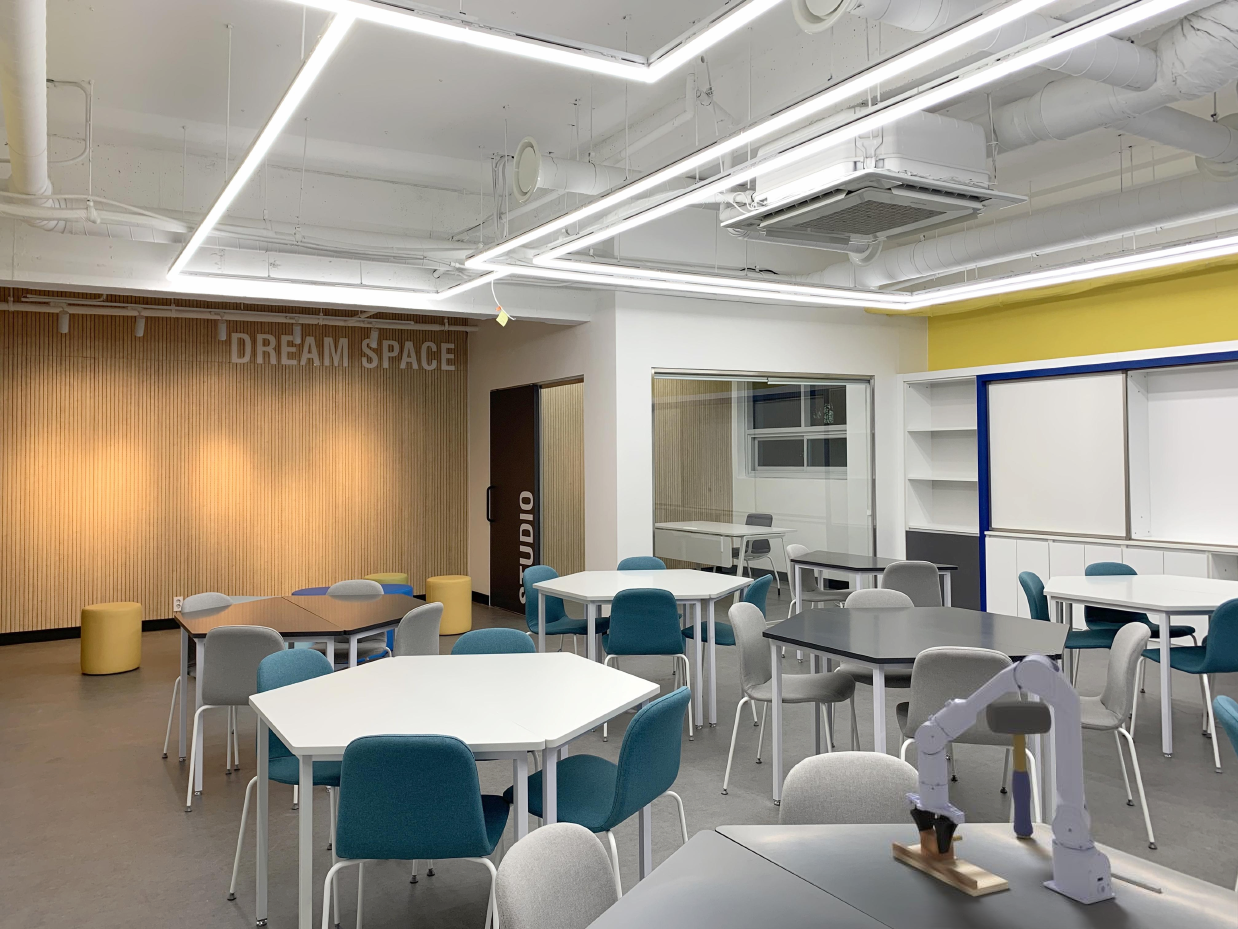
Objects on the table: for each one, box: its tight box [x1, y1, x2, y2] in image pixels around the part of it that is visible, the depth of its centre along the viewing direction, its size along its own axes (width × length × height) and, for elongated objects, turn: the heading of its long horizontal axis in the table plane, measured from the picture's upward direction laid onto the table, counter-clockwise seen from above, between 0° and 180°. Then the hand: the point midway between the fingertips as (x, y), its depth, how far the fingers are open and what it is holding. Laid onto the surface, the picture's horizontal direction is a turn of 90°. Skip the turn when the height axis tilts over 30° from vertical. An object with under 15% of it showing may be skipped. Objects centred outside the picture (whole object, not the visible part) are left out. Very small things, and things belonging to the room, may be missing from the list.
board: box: [892, 841, 1010, 897], centre depth 171 cm, size 22×9×3 cm, turn 24°
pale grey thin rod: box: [1111, 870, 1162, 893], centre depth 166 cm, size 12×1×1 cm, turn 29°
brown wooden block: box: [919, 828, 963, 862], centre depth 176 cm, size 4×9×5 cm, turn 114°
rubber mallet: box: [985, 699, 1052, 839], centre depth 190 cm, size 12×8×30 cm, turn 86°
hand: (935, 848), depth 175 cm, fingers closed on brown wooden block, 4 cm apart
